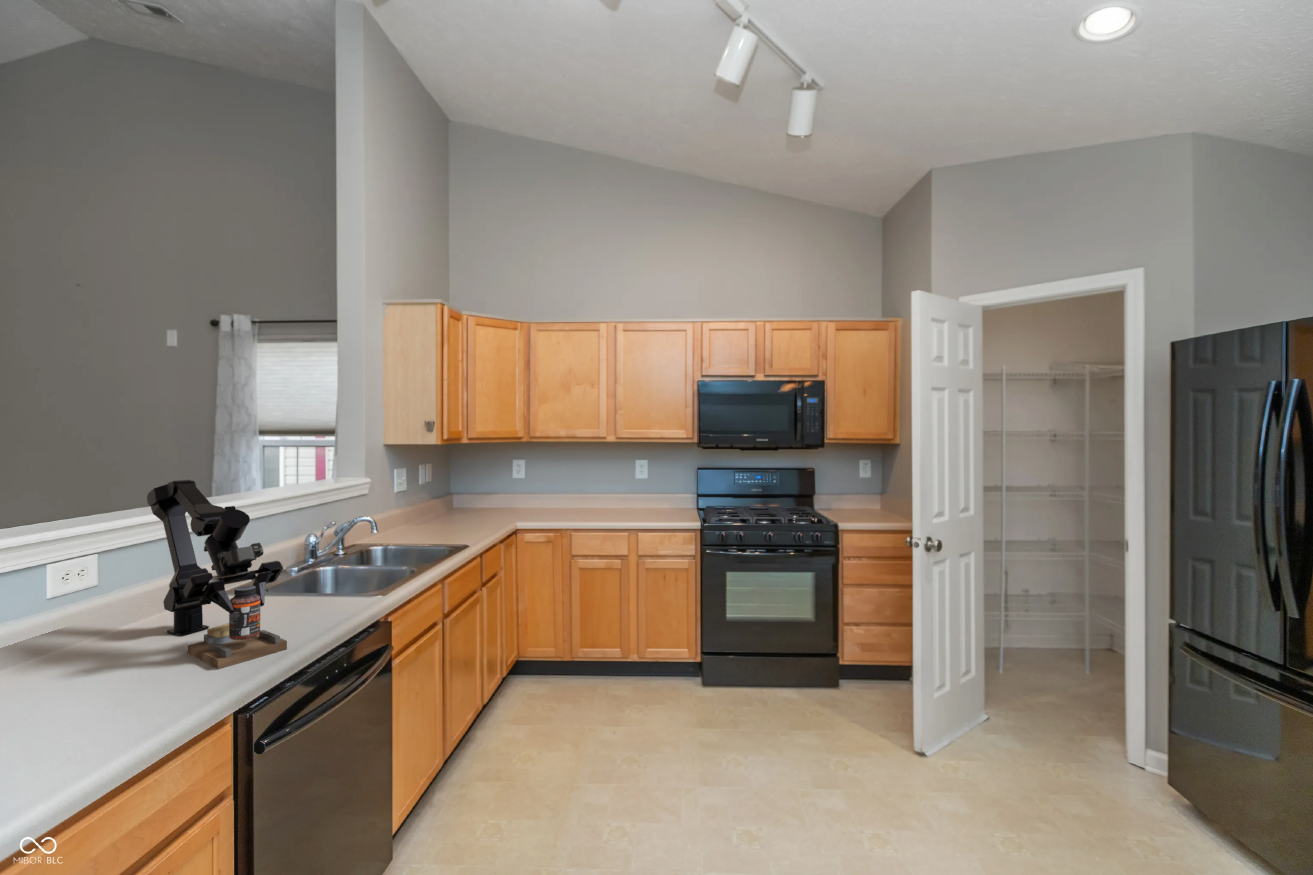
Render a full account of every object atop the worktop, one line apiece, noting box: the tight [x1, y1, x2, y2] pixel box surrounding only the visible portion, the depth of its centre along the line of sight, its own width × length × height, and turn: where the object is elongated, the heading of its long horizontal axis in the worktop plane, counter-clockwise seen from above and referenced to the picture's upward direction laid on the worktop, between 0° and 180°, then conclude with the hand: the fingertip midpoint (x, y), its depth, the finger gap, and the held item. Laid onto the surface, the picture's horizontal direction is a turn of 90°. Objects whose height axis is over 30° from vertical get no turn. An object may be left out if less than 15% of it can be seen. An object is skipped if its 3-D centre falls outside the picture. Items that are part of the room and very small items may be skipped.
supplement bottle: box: [228, 585, 261, 640], centre depth 136 cm, size 6×6×11 cm
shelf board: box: [186, 622, 288, 670], centre depth 139 cm, size 16×14×5 cm
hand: (247, 608), depth 136 cm, fingers closed on supplement bottle, 6 cm apart
